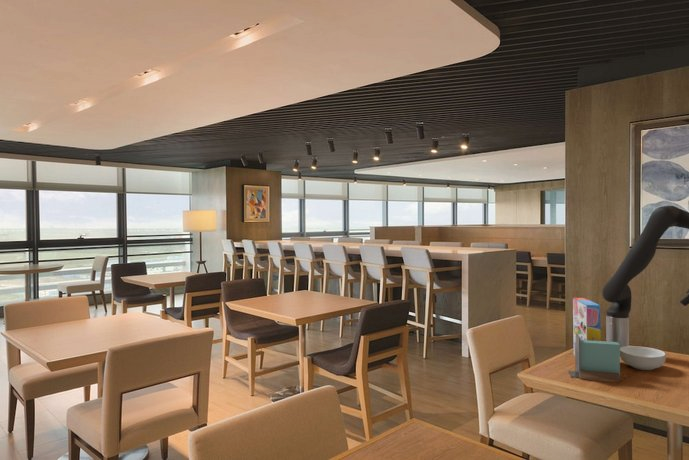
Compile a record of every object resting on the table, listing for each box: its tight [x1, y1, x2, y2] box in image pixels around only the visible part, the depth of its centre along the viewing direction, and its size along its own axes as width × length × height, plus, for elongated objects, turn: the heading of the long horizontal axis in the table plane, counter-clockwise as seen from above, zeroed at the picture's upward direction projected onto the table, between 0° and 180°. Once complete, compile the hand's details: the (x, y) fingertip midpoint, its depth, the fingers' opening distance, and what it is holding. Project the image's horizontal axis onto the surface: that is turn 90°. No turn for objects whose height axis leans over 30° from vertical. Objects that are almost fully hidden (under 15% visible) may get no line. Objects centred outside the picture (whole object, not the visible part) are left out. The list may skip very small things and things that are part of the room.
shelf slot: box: [574, 343, 621, 383], centre depth 185 cm, size 10×14×12 cm
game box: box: [572, 297, 602, 357], centre depth 204 cm, size 21×6×27 cm, turn 168°
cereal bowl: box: [620, 345, 667, 371], centre depth 196 cm, size 17×17×7 cm
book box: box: [581, 340, 621, 376], centre depth 184 cm, size 4×14×14 cm, turn 72°
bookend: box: [567, 334, 581, 379], centre depth 187 cm, size 7×4×16 cm, turn 163°
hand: (682, 304), depth 179 cm, fingers closed
